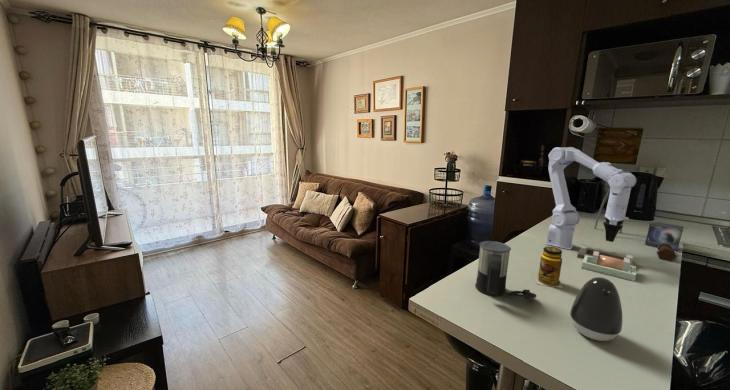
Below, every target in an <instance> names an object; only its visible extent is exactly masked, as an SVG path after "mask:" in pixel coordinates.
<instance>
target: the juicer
mask: <svg viewBox="0 0 730 390" xmlns="http://www.w3.org/2000/svg"><path fill="white" fill-rule="evenodd" d="M609 195H610V187H609V188H608V190H607V191H606V194H605V195H604V198H603V199H602V202H601V205H600V206H599V207H600V208H599V210H598V214H597V217H596V220H595V224H594V230H597V226H598V222H599V219H600V216H601V213H602V212H603V208H604V205H605V203H606V201H607V199H608V198H609ZM621 225H622V226H623V225H624V222H623V223H622V224H621ZM623 227H624V226H623ZM623 227H622V228H621V229H620V230H619V233H620V234H622V231H623Z"/></svg>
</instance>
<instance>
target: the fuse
mask: <svg viewBox="0 0 730 390" xmlns="http://www.w3.org/2000/svg"><path fill="white" fill-rule="evenodd" d="M592 255H593V257H592V262H591V263H592V264H596V265H600V266H604V267H609V268H613V269H617V270H621V271H625V272H628V269H629V265H630V259H629V258H624V260H621V259H617V258H612V257H608V256H603V255H599V252H597V251H594V253H593V254H592Z"/></svg>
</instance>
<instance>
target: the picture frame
mask: <svg viewBox="0 0 730 390" xmlns="http://www.w3.org/2000/svg"><path fill="white" fill-rule="evenodd" d="M683 231H684V226H683V225H676V224H673V223H672V224H670V223H665V222H660V221H655V220H652V221H651V222H650V223H649V226H648V230H647V235H646V237H645V243H644V245H645V246H648V247H653V248H657V246H658V245H660V244H661V243H667V244H670V245H671V247H672V249H673V250H674V252H675V251H676V252H675V253H677V252H678V250H679V245H680V242H681V240H682V239H681V238H682V235H683Z"/></svg>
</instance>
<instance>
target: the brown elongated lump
mask: <svg viewBox="0 0 730 390" xmlns="http://www.w3.org/2000/svg"><path fill="white" fill-rule="evenodd" d="M656 248H657V251H656V255H657V256H658V258H659V260H661V259H662V261H665V260H666V261H665V262H672V261H674V260H675V259H676V258H677V257H678V256H677V254H676V252H675V251H674V250H673V249H672V247H671V245H670V244H667V243H661V244H660V245H658V246H657V247H656Z"/></svg>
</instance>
